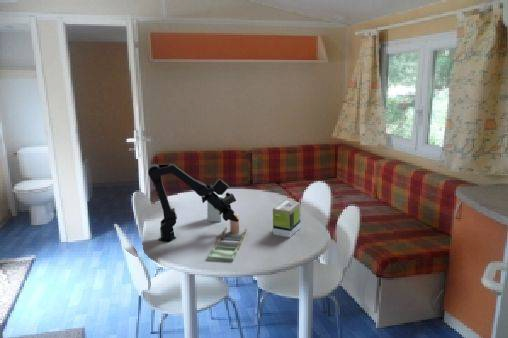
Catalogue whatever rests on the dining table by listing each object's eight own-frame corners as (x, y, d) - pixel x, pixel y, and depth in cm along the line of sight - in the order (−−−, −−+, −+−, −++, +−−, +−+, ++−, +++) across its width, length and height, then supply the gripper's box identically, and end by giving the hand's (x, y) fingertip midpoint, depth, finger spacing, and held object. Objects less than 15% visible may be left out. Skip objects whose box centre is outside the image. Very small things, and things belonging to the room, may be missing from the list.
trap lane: (225, 229, 207) (225, 226, 207) (246, 230, 205) (246, 228, 205) (207, 259, 173) (207, 257, 172) (233, 261, 171) (233, 258, 171)
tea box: (284, 224, 213) (284, 199, 209) (300, 228, 208) (301, 202, 205) (272, 234, 200) (272, 207, 197) (290, 238, 195) (290, 210, 192)
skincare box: (207, 221, 218) (206, 196, 215) (209, 217, 224) (208, 193, 221) (221, 221, 218) (221, 197, 214) (223, 218, 224) (222, 193, 220)
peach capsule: (228, 232, 202) (228, 215, 200) (233, 229, 206) (233, 212, 204) (236, 234, 200) (235, 216, 198) (241, 231, 204) (240, 213, 202)
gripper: (229, 195, 188) (251, 214, 193) (223, 184, 205) (243, 202, 211) (214, 211, 188) (236, 230, 193) (209, 200, 206) (230, 217, 211)
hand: (237, 219), depth 202 cm, fingers closed on peach capsule, 5 cm apart
